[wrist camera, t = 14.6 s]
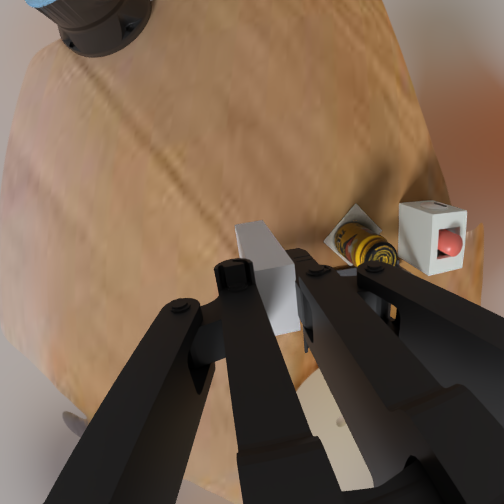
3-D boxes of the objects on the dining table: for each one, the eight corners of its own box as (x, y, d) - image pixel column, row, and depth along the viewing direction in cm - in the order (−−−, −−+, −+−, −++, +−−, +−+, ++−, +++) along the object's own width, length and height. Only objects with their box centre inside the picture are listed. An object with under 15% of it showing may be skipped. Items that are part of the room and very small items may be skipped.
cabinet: (398, 199, 53) (432, 210, 43) (432, 196, 53) (467, 207, 44) (397, 256, 56) (428, 275, 46) (430, 250, 57) (462, 267, 47)
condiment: (322, 241, 53) (352, 265, 42) (355, 202, 52) (392, 217, 41) (350, 266, 55) (382, 294, 44) (381, 230, 54) (419, 250, 43)
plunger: (416, 222, 51) (448, 236, 43) (431, 220, 52) (463, 233, 43) (415, 242, 53) (446, 258, 44) (430, 239, 53) (461, 254, 44)
